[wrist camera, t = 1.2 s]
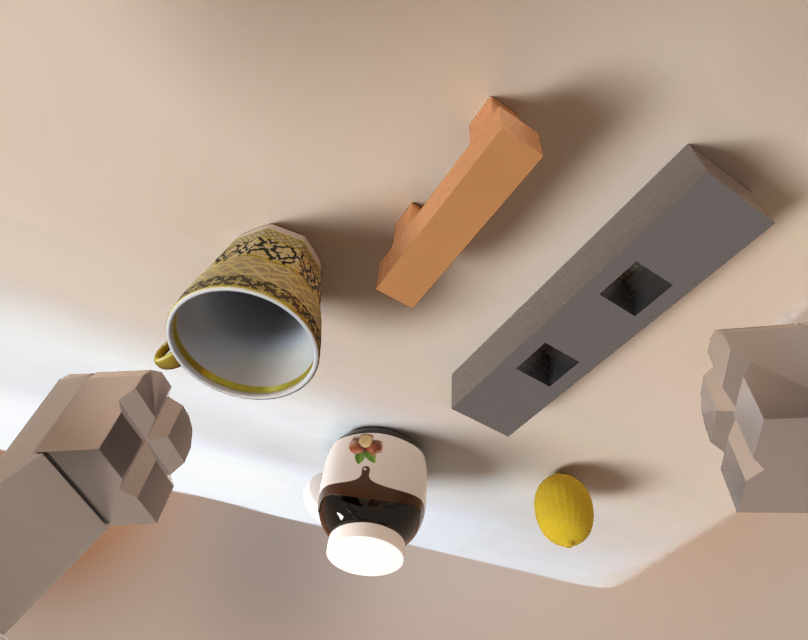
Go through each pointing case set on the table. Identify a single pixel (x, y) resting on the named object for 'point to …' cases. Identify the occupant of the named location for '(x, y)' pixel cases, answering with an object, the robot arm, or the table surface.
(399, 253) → the wooden arch block
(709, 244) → the rail
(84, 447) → the robot arm
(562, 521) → the lemon
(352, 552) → the spread jar
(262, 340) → the ceramic cup
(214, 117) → the table surface
